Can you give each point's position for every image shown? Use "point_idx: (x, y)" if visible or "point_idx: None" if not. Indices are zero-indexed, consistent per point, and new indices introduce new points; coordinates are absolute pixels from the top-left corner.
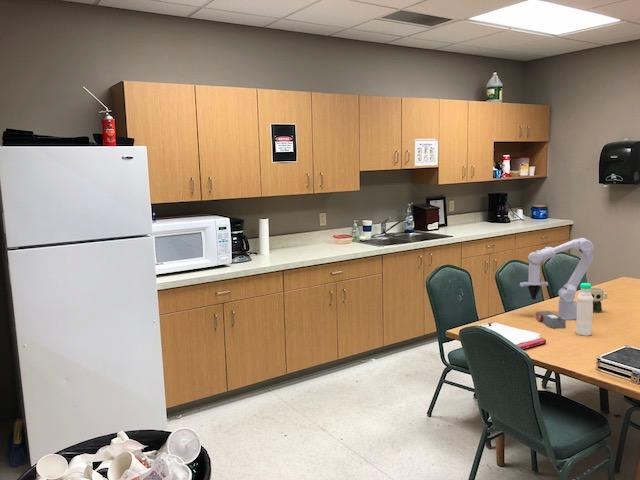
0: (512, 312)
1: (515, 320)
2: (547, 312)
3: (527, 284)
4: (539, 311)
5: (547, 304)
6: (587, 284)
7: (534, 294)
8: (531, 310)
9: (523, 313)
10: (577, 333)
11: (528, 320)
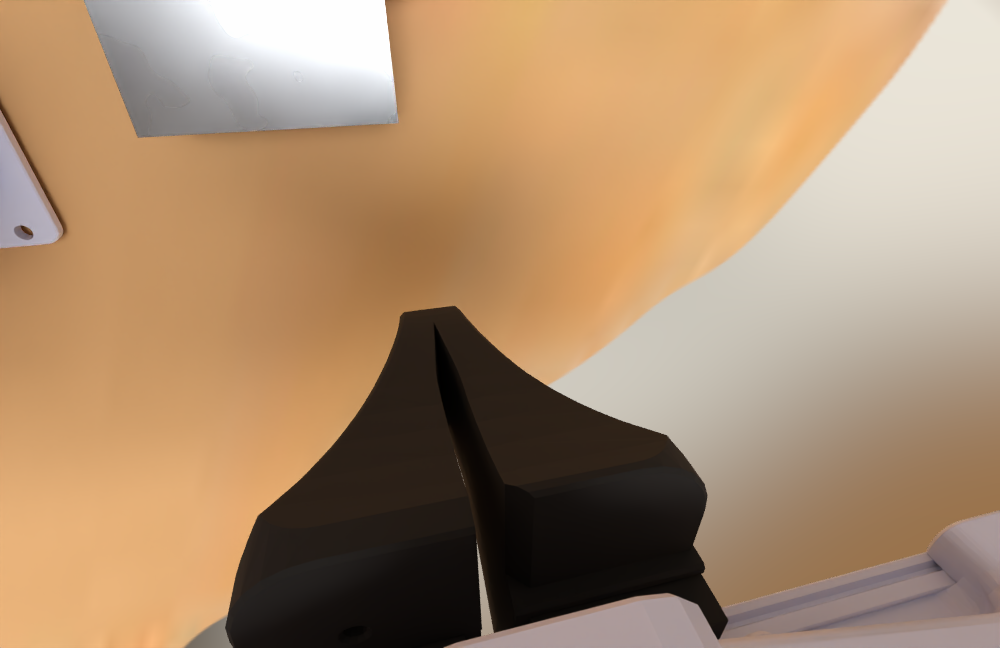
0: (564, 362)
1: (700, 27)
2: (191, 15)
3: (946, 627)
4: (343, 111)
5: (131, 619)
6: None
7: (455, 362)
8: None
9: None
10: None
11: (535, 7)
